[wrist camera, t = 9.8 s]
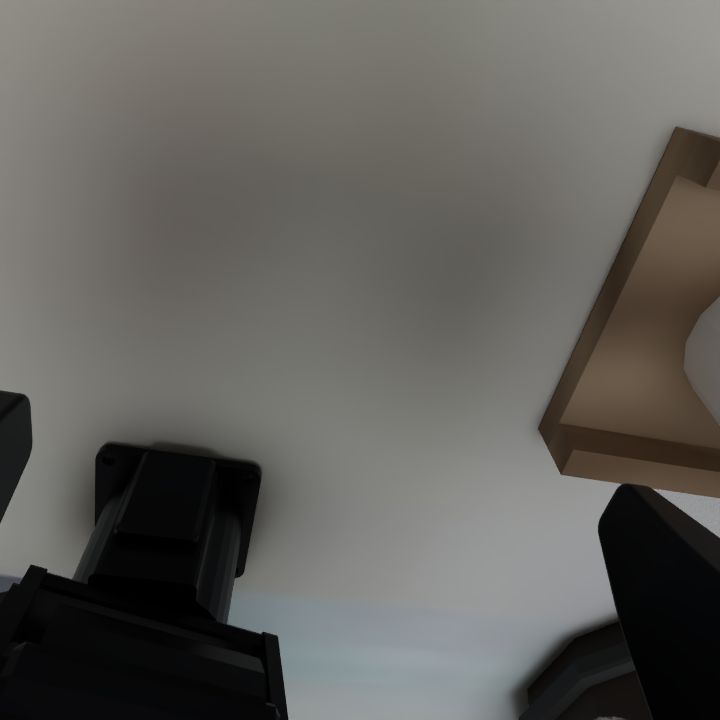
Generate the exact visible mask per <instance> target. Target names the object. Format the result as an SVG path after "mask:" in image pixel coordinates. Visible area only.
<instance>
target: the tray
mask: <svg viewBox="0 0 720 720" xmlns="http://www.w3.org/2000/svg"><path fill="white" fill-rule="evenodd" d="M719 297H720V138H719V137H715V136H711V135H707V134H703V133H699V132H695V131H691V130H687V129H683V128H679V127H676V129H675V131H674V133H673V136H672V138H671V140H670V142H669V144H668V147H667V149H666V151H665V153H664V155H663V158H662V160H661V162H660V164H659V166H658V168H657V171H656V173H655V175H654V177H653V179H652V182H651V184H650V186H649V188H648V190H647V192H646V195H645V197H644V199H643V201H642V203H641V206H640V208H639V210H638V212H637V214H636V217H635V219H634V221H633V223H632V225H631V227H630V230H629V232H628V234H627V236H626V238H625V241H624V243H623V245H622V247H621V249H620V252H619V254H618V256H617V258H616V260H615V262H614V265H613V267H612V269H611V271H610V273H609V276H608V278H607V280H606V282H605V284H604V286H603V289H602V291H601V293H600V295H599V297H598V300H597V302H596V304H595V306H594V308H593V311H592V313H591V315H590V317H589V319H588V321H587V324H586V326H585V328H584V330H583V332H582V335H581V337H580V339H579V341H578V343H577V345H576V348H575V350H574V352H573V354H572V356H571V359H570V361H569V363H568V365H567V367H566V370H565V372H564V374H563V376H562V378H561V380H560V383H559V385H558V387H557V389H556V391H555V394H554V396H553V398H552V400H551V402H550V405H549V407H548V409H547V411H546V413H545V415H544V418H543V420H542V422H541V424H540V426H539V431H540V433H541V435H542V437H543V439H544V442H545V444H546V446H547V448H548V450H549V452H550V454H551V456H552V458H553V460H554V462H555V464H556V466H557V468H558V470H559V472H560V474H561V475H566V476H573V477H580V478H587V479H593V480H600V481H607V482H614V483H620V484H624V483H631V484H637V485H644V486H648V487H650V488H654V489H661V490H668V491H675V492H681V493H688V494H695V495H702V496H708V497H715V498H720V426H719V424H718V423H717V421H716V420H715V419H714V417H713V416H712V415H711V413H710V412H709V411H708V409H707V408H706V406H705V405H704V404H703V402H702V401H701V400H700V398H699V397H698V396H697V394H696V393H695V391H694V390H693V389H692V386H691V384H690V382H689V380H688V378H687V375H686V373H685V371H684V369H683V366H684V355H685V344H686V341H687V339H688V337H689V335H690V334H691V332H692V330H693V328H694V326H695V324H696V322H697V320H698V319H699V317H700V315H701V314H702V313H703V312H704V311H705V310H706V309H707V308H708V307H709V306H710V305H711V304H712V303H714V302H715V301H716V300H717V299H718V298H719Z"/></svg>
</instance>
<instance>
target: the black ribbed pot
mask: <svg viewBox="0 0 720 720" xmlns="http://www.w3.org/2000/svg"><path fill="white" fill-rule="evenodd" d="M527 692H528V703H529V708H528V709H527V710H526V711H525V712H524V713H523V714H522V715H521V716H520V717H519V720H652V717H651V714H650V711H649V708H648V705H647V702H646V699H645V696H644V693H643V690H642V687H641V685H640V682H639V679H638V676H637V673H636V670H635V667H634V664H633V661H632V658H631V655H630V653H629V650H628V647H627V644H626V641H625V638H624V635H623V632H622V628H621V625H620V622H617V623H614V624H612V625H609V626H606V627H604V628H601V629H598V630H596V631H593V632H590V633H588V634H585V635H582V636H580V637H577V638H575V639H574V640H573V641H572V642H571V643H570V644H569V645H568V646H567V648H566V649H565V650H564V651H563V652H562V653H561V654H560V655H559V656H558V657H557V658H556V659H555V660H554V661H553V662H552V663H551V664H550V666H549V667H548V668H547V669H546V670H545V671H544V672H543V673H542V674H541V675H540V676H539V677H538V678H537V679H536V680H535V681H534V682H533V683H532V685H531V686H530V687H529V688H528V689H527Z"/></svg>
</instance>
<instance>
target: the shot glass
mask: <svg viewBox="0 0 720 720" xmlns="http://www.w3.org/2000/svg"><path fill="white" fill-rule="evenodd" d="M683 369H684V371H685V373H686V375H687V378H688V380H689V382H690V384H691V386H692V389H693V390H694V391H695V393H696V394H697V396H698V397H699V398H700V400H701V401H702V402H703V404H704V405H705V406H706V408H707V409H708V411H709V412H710V413H711V415H712V416H713V417H714V419H715V420H716V421H717V423H718V424H719V426H720V297H719V298H718V299H717V300H716V301H715V302H714V303H712V304H711V305H710V306H709V307H708V308H707V309H706V310H705V311H704V312H703V313H702V314H701V315H700V317H699V319H698V320H697V322H696V324H695V326H694V328H693V330H692V332H691V334H690V335H689V337H688V339H687V341H686V344H685V355H684V366H683Z"/></svg>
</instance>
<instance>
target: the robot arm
mask: <svg viewBox="0 0 720 720" xmlns="http://www.w3.org/2000/svg"><path fill="white" fill-rule="evenodd" d="M31 449H32V424H31V407H30V401H29V398H28V397H27V396H26V395H25V394H21V393H14V392H7V391H0V523H1V521H2V518H3V516H4V514H5V511H6V509H7V507H8V505H9V502H10V500H11V498H12V496H13V493H14V491H15V489H16V487H17V484H18V482H19V480H20V477H21V475H22V473H23V471H24V468H25V466H26V464H27V462H28V459H29V457H30V453H31ZM107 456H112V457H113V458H114V459H110V458H108V457H107ZM245 475H252V476H253V477H252V478H248V477H246V476H245ZM261 476H262V472H261V470H260V468H259V467H258V466H256V465H254V464H249V463H242V462H235V461H228V460H221V459H213V458H206V457H199V456H192V455H185V454H178V453H170V452H163V451H156V450H149V449H142V448H134V447H127V446H120V445H113V444H107V445H104V446H102V447H101V448H100V449H99V451H98V453H97V455H96V460H95V529H94V531H93V533H92V536H91V538H90V540H89V542H88V545H87V547H86V549H85V551H84V554H83V556H82V558H81V560H80V563H79V565H78V567H77V569H76V572H75V574H74V576H73V578H72V579H68V578H65V577H61V576H58V575H55V574H51V573H48V572H47V570H48V569H45V568H41V567H38V566H35V565H30V567H29V569H28V570H27V572H26V574H25V576H24V577H23V579H22V581H21V583H20V584H16V583H13V584H12V586H11V588H10V589H9V591H7V592H2V593H0V720H288V713H287V705H286V697H285V689H284V681H283V673H282V665H281V657H280V649H279V641H278V636H276V635H273V634H270V633H266V632H263V633H262V634H259V633H256V632H253V631H249V630H246V629H242V628H239V627H235V626H232V625H228V624H227V622H228V616H229V609H230V603H231V597H232V591H233V585H234V578H238V577H240V576H242V575H243V573H244V569H245V564H246V558H247V553H248V547H249V542H250V537H251V531H252V526H253V520H254V515H255V510H256V504H257V499H258V494H259V488H260V483H261ZM598 534H599V539H600V543H601V547H602V552H603V556H604V560H605V564H606V569H607V573H608V577H609V581H610V586H611V590H612V594H613V598H614V603H615V607H616V611H617V615H618V618H619V622H620V625H621V628H622V632H623V635H624V638H625V641H626V644H627V647H628V650H629V653H630V655H631V658H632V661H633V664H634V667H635V670H636V673H637V676H638V679H639V682H640V685H641V687H642V690H643V693H644V696H645V699H646V702H647V705H648V708H649V711H650V714H651V717H652V720H720V538H719V537H718V536H716V535H715V534H714V533H712V532H711V531H709V530H708V529H707V528H705V527H704V526H703V525H701V524H700V523H698V522H697V521H696V520H694V519H693V518H692V517H690V516H689V515H687V514H686V513H685V512H683V511H682V510H681V509H679V508H678V507H676V506H675V505H674V504H672V503H671V502H670V501H668V500H667V499H665V498H664V497H663V496H661V495H660V494H659V493H657V492H656V491H654V490H653V489H652V488H650V487H648V486H644V485H637V484H631V483H624V484H622V485H620V486H619V487H618V488H617V490H616V491H615V493H614V495H613V496H612V498H611V500H610V502H609V503H608V505H607V507H606V509H605V510H604V512H603V514H602V516H601V518H600V520H599V524H598Z"/></svg>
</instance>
